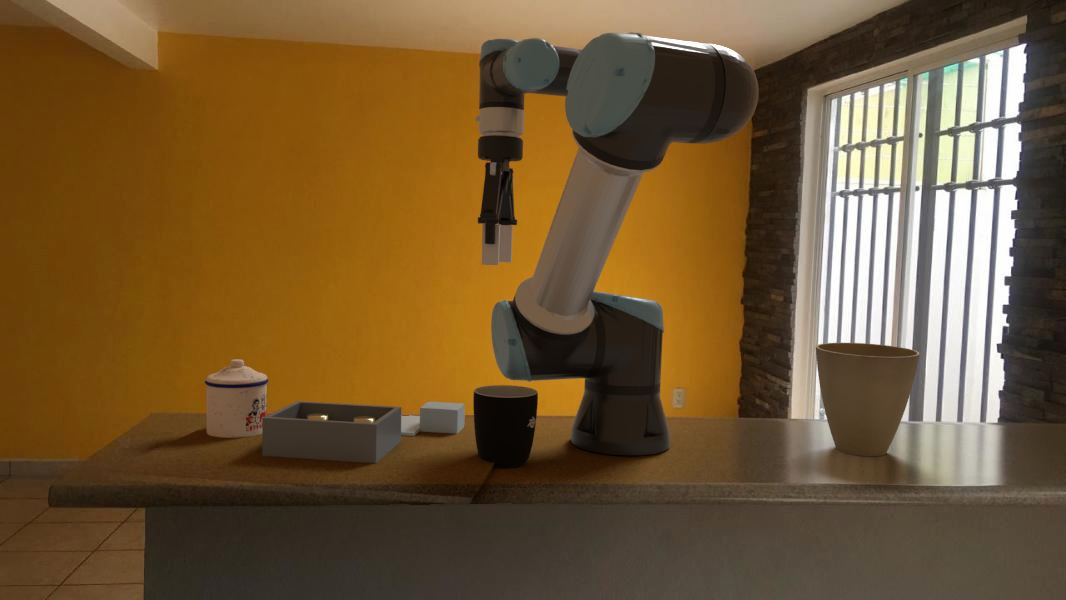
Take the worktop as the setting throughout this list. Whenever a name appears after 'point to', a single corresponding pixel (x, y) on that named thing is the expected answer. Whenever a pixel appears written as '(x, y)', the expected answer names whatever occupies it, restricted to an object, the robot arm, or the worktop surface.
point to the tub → (331, 432)
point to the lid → (435, 419)
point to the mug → (505, 423)
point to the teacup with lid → (236, 401)
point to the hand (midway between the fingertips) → (497, 263)
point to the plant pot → (865, 393)
